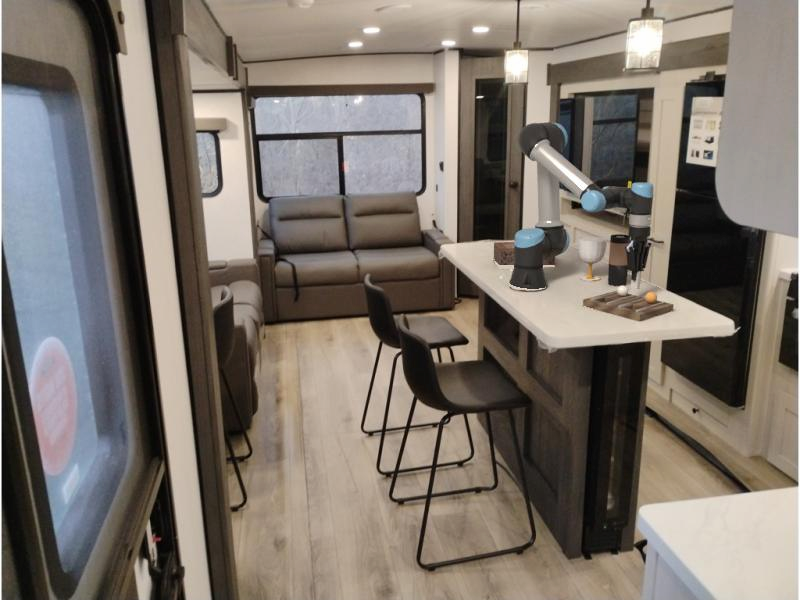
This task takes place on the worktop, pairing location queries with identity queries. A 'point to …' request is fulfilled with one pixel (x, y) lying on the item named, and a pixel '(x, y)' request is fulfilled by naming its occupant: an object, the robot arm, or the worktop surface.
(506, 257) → the tissue box cover
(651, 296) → the orange ball
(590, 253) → the cup
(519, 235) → the robot arm
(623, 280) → the travel mug
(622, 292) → the cream ball
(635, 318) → the hole deck
